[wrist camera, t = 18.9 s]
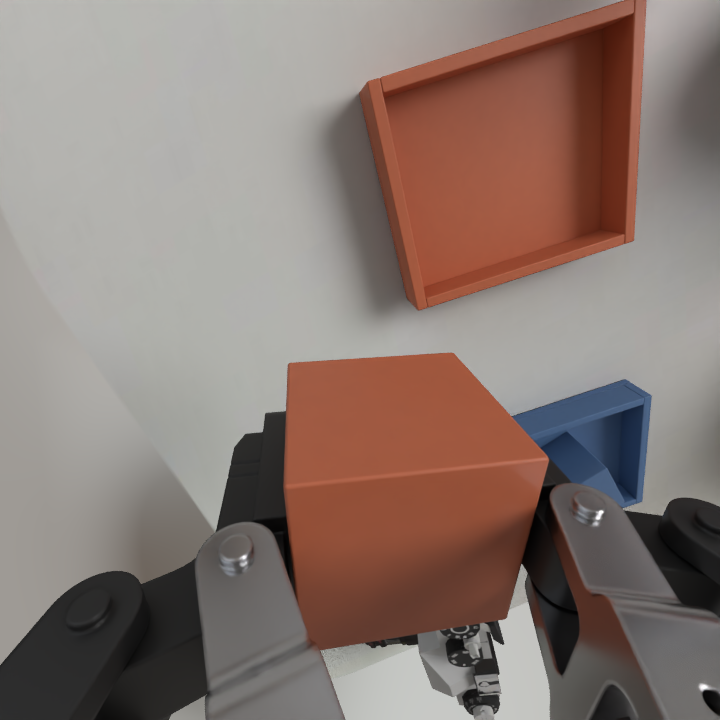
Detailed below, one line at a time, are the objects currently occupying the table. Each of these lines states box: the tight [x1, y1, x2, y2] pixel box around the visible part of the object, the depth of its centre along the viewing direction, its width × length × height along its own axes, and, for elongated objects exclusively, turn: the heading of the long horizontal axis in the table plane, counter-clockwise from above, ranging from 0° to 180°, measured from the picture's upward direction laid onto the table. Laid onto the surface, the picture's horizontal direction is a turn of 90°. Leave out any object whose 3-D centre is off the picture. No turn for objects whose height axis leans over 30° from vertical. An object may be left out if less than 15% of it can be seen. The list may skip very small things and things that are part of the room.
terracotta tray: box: [359, 0, 646, 310], centre depth 21 cm, size 13×11×2 cm
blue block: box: [541, 432, 625, 505], centre depth 30 cm, size 4×4×4 cm
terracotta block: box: [283, 353, 549, 650], centre depth 9 cm, size 4×4×4 cm
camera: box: [365, 620, 504, 720], centre depth 31 cm, size 15×11×10 cm
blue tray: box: [512, 380, 652, 508], centre depth 31 cm, size 13×11×2 cm
